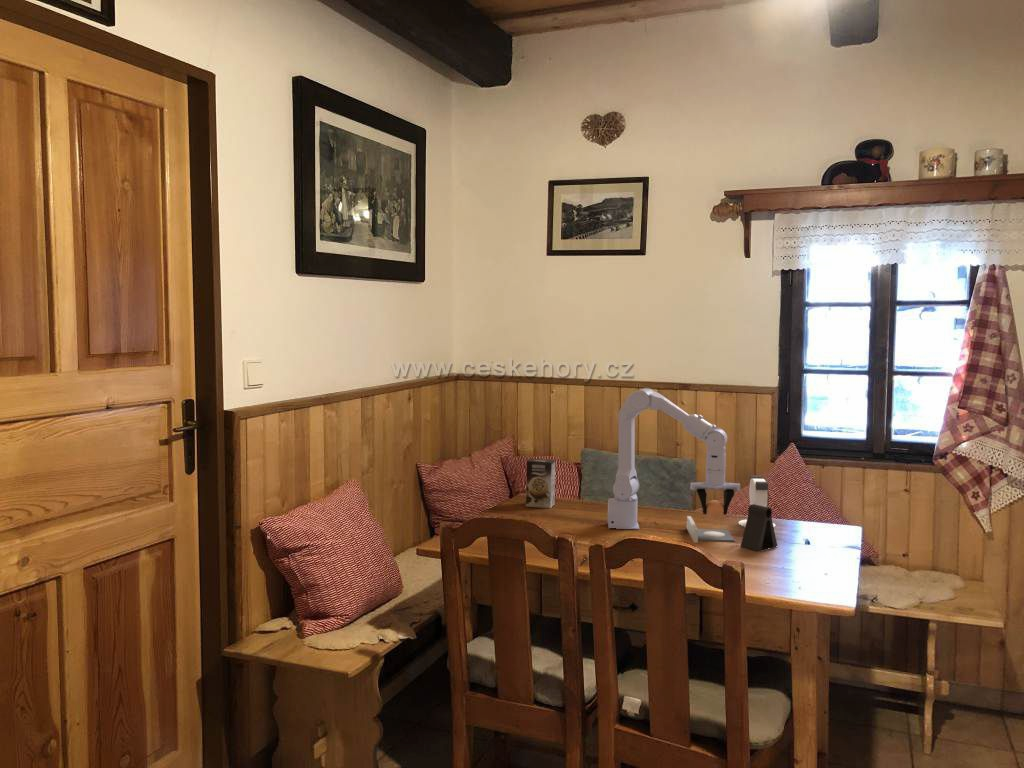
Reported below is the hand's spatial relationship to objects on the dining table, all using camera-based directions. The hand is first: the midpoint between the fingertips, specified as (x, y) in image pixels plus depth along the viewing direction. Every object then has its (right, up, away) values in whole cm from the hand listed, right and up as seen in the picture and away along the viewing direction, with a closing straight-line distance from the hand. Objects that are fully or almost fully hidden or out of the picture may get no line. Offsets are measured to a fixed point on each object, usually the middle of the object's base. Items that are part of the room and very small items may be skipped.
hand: (714, 513), depth 252 cm
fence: (-6, -7, +1) cm, 9 cm away
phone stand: (+10, -8, -11) cm, 17 cm away
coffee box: (-51, -4, +39) cm, 65 cm away
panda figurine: (+17, -6, +14) cm, 23 cm away
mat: (0, -7, +1) cm, 7 cm away
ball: (0, +1, 0) cm, 1 cm away
